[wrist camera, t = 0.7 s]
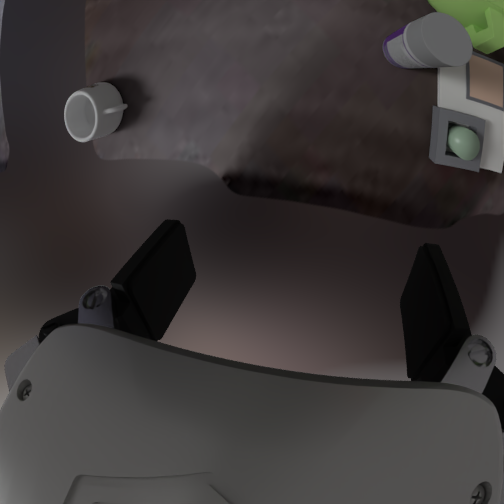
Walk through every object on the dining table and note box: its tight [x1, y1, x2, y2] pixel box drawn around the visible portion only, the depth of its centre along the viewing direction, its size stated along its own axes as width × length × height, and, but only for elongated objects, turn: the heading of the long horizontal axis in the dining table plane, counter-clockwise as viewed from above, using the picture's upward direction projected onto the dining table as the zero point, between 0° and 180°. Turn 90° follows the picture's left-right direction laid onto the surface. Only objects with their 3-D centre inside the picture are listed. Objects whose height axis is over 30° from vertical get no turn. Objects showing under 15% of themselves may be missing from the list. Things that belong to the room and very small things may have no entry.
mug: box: [64, 82, 128, 142], centre depth 33 cm, size 12×10×6 cm
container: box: [383, 12, 473, 69], centre depth 16 cm, size 5×5×15 cm
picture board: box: [429, 51, 504, 173], centre depth 21 cm, size 16×13×3 cm
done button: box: [446, 124, 480, 160], centre depth 23 cm, size 4×4×3 cm
